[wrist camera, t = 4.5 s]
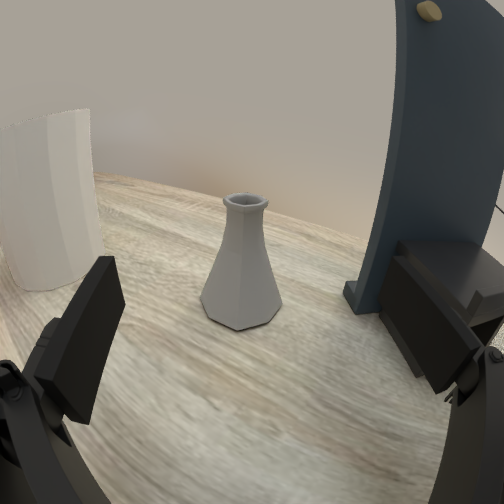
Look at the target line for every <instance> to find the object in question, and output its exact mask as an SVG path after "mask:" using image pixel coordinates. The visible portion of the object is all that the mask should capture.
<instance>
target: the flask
mask: <svg viewBox="0 0 504 504" xmlns="http://www.w3.org/2000/svg"><path fill="white" fill-rule="evenodd" d="M223 204H224V205H225V206H226V208H227V218H226V227H225V231H224V236H223V240H222V244H221V247H220V249H219V252H218V254H217V257H216V259H215V262H214V264H213V267H212V270H211V272H210V274H209V276H208V279H207V281H206V283H205V286H204V288H203V290H202V293H201V295H200V299H201V301H202V304H203V306H204V308H205V310H206V312H207V315H208V317H209V318H211V319H213V320H215V321H218V322H220V323H222V324H224V325H226V326H228V327H231V328H233V329H235V330H237V331H238V330H242V329H245V328H249V327H253V326H256V325H260V324H264V323H267V322H269V321H270V320H271V318H272V317H273V316H274V314H275V313H276V312H277V310H278V309H279V308H280V306H281V305H282V300H281V297H280V294H279V291H278V288H277V284H276V281H275V278H274V275H273V272H272V269H271V265H270V262H269V258H268V255H267V251H266V248H265V242H264V234H263V211H264V209H265V208H266V207H267V206H268V200H267V199H265V198H264V197H262V196H260V195H256V194H251V193H235V194H231V195H228V196H226V197H224V198H223Z"/></svg>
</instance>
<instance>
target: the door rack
mask: <svg viewBox="0 0 504 504" xmlns="http://www.w3.org/2000/svg"><path fill="white" fill-rule="evenodd" d="M395 7H396V75H395V91H394V103H393V113H392V123H391V130H390V138H389V145H388V152H387V158H386V164H385V170H384V175H383V181H382V186H381V191H380V196H379V200H378V205H377V209H376V214H375V218H374V222H373V227H372V231H371V235H370V239H369V242H368V246H367V250H366V253H365V257H364V261H363V264H362V268H361V271H360V274H359V278H358V281H346V283H345V287H344V290H343V294H344V296H345V297H346V299H347V301H348V303H349V304H350V306H351V308H352V310H353V311H354V313H355V314H364V313H373V312H380V314H379V317H380V318H381V320H382V321H383V323H384V324H385V326H386V328H387V329H388V331H389V333H390V334H391V336H392V337H393V339H394V341H395V342H396V344H397V346H398V347H399V349H400V351H401V353H402V354H403V356H404V358H405V359H406V361H407V363H408V365H409V366H410V368H411V370H412V372H413V373H414V375H415V377H416V378H417V377H420V376H423V375H424V373H423V371H422V370H421V368H420V366H419V365H418V363H417V361H416V360H415V358H414V356H413V355H412V353H411V351H410V350H409V348H408V347H407V345H406V343H405V342H404V340H403V339H402V337H401V335H400V334H399V332H398V331H397V329H396V328H395V326H394V324H393V323H392V321H391V320H390V318H389V317H388V315H387V314H386V312H385V311H384V309H383V308H382V306H381V305H380V303H379V302H378V301H377V297H378V294H379V292H380V289H381V286H382V284H383V281H384V278H385V275H386V272H387V269H388V267H389V264H390V261H391V257H392V256H404V257H405V258H406V259H407V260H408V261H409V262H410V263H411V264H412V265H413V266H414V267H415V268H416V269H417V271H418V272H419V273H420V274H421V275H422V276H423V277H424V278H425V279H426V280H427V281H428V282H429V283H430V284H431V285H432V287H433V288H434V289H435V290H436V291H437V292H438V293H439V294H440V296H441V297H442V298H443V299H444V300H445V301H446V302H447V304H448V305H449V306H450V307H451V308H453V309H454V310H455V311H457V313H458V314H459V315H460V316H461V317H462V320H464V321H465V322H466V323H467V326H469V327H470V328H471V330H472V331H473V332H474V333H475V335H476V336H477V337H478V339H479V340H480V341H481V343H482V344H483V345H484V346H485V348H486V347H488V346H489V345H490V343H491V342H492V340H493V339H494V337H495V336H496V334H497V333H498V331H499V329H500V328H501V326H502V325H503V323H504V266H503V265H501V264H500V263H499V262H498V261H497V260H496V259H495V258H493V257H492V256H491V255H490V254H489V253H487V252H486V251H485V250H484V249H482V248H481V247H482V244H483V242H484V239H485V236H486V233H487V230H488V227H489V224H490V221H491V218H492V214H493V211H494V207H495V204H496V200H497V196H498V192H499V188H500V184H501V179H502V175H503V170H504V17H503V16H502V15H501V14H500V13H499V12H498V11H497V10H496V9H495V8H493V7H492V6H491V5H490V4H489V3H488V2H487V1H485V0H395Z"/></svg>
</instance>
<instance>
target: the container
mask: <svg viewBox="0 0 504 504" xmlns="http://www.w3.org/2000/svg"><path fill="white" fill-rule="evenodd" d="M0 243H1V246H2V249H3V252H4V255H5V258H6V261H7V264H8V267H9V269H10V272H11V275H12V277H13V280H14V282H15V284H16V285H18V286H19V287H21V288H23V289H24V290H26V291H50V290H53V289H56V288H59V287H61V286H64V285H67V284H70V283H73V282H75V281H77V280H78V279H80V278H81V277H83V276H84V275H85V274H87V273H88V272H89V271H90V269H91V267H92V266H93V264H94V263H95V261H96V260H97V258H98V257H99V256H104V254H105V253H106V251H105V246H104V241H103V236H102V231H101V226H100V220H99V214H98V207H97V200H96V193H95V185H94V176H93V166H92V154H91V139H90V109H79V110H71V111H66V112H60V113H55V114H50V115H45V116H41V117H38V118H34V119H30V120H26V121H23V122H20V123H16V124H13V125H10V126H8V127H5V128H2V129H0Z"/></svg>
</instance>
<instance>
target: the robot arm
mask: <svg viewBox="0 0 504 504" xmlns="http://www.w3.org/2000/svg"><path fill="white" fill-rule="evenodd" d="M495 206H496V207H497V208H498V209H499V210H500V211H501V212H502V213H503V214H504V212H503V211H502V210H501V209H500V208H499V207H498V206H497V205H496V204H495ZM377 301H378V302H379V303H380V305H381V306H382V308H383V309H384V311H385V312H386V314H387V315H388V317H389V318H390V320H391V321H392V323H393V324H394V326H395V328H396V329H397V331H398V332H399V334H400V335H401V337H402V339H403V340H404V342H405V343H406V345H407V347H408V348H409V350H410V351H411V353H412V355H413V356H414V358H415V360H416V361H417V363H418V365H419V366H420V368H421V370H422V371H423V373H424V375H425V377H426V378H427V380H428V382H429V384H430V385H431V387H432V389H433V391H434V393H435V394H438V393H441V392H443V391H445V390H447V389H448V388H449V387H450V386H451V385H452V383H453V382H454V381H455V382H456V384H457V386H456V387H455V388H454V389H453V390H452V391H451V392H450V393H449V395H448V396H447V397H446V398H445V401H444V402H447V401H448V399H449V398H450V397H451V396H453V398H452V399H451V400H450V401H449V403H450V404H452V406H451V414H450V420H449V426H448V432H447V437H446V442H445V447H444V451H443V455H442V460H441V463H440V467H439V471H438V474H437V478H436V481H435V484H434V487H433V490H432V493H431V496H430V499H429V502H428V504H504V355H503V354H502V353H501V352H500V351H499V350H498V349H497V348H495V347H493V346H488V347H486V348H485V346H484V345H483V344H482V343H481V341H480V340H479V339H478V337H477V336H476V335H475V333H474V332H473V331H472V330H471V328H470V327H469V326H467V323H466V322H465V321H464V320H462V317H461V316H460V315H459V314H458V313H457V311H455V310H454V309H453V308H451V307H450V306H449V305H448V304H447V302H446V301H445V300H444V299H443V298H442V297H441V296H440V294H439V293H438V292H437V291H436V290H435V289H434V288H433V287H432V285H431V284H430V283H429V282H428V281H427V280H426V279H425V278H424V277H423V276H422V275H421V274H420V273H419V272H418V271H417V269H416V268H415V267H414V266H413V265H412V264H411V263H410V262H409V261H408V260H407V259H406V258H405V257H404V256H392V257H391V261H390V264H389V267H388V269H387V272H386V275H385V278H384V281H383V284H382V286H381V289H380V292H379V294H378V297H377ZM125 305H126V304H125V301H124V297H123V293H122V289H121V285H120V281H119V277H118V272H117V268H116V263H115V258H114V256H99V257H98V258H97V260H96V261H95V263H94V264H93V266H92V267H91V269H90V271H89V272H88V274H87V275H86V277H85V278H84V280H83V282H82V283H81V285H80V286H79V288H78V290H77V291H76V293H75V295H74V296H73V298H72V300H71V301H70V303H69V305H68V307H67V308H66V310H65V312H64V314H63V315H62V317H61V318H55V317H54V318H53V319H52V320H51V321H50V322H49V323H48V324H47V325H46V326H45V328H44V329H43V331H42V333H41V335H40V338H39V339H38V341H37V343H36V346H34V348H33V350H32V352H31V354H30V356H29V358H28V360H27V363H26V365H25V367H24V369H23V371H22V373H21V372H20V370H19V369H18V368H17V366H16V365H15V364H14V363H13V362H12V361H11V360H1V361H0V504H111V502H110V501H109V499H108V498H107V497H106V495H105V494H104V492H103V491H102V489H101V488H100V486H99V485H98V483H97V482H96V480H95V479H94V477H93V476H92V474H91V472H90V471H89V469H88V467H87V466H86V464H85V462H84V460H83V459H82V457H81V455H80V453H79V451H78V450H77V448H76V446H75V444H74V442H73V440H72V438H71V436H70V434H69V432H68V430H67V428H66V425H65V424H64V422H63V421H62V419H63V415H64V414H65V415H66V416H67V417H68V418H69V419H70V420H71V421H74V422H77V423H81V424H86V425H89V423H90V419H91V414H92V410H93V406H94V402H95V398H96V395H97V391H98V387H99V384H100V380H101V377H102V373H103V370H104V366H105V363H106V360H107V357H108V354H109V350H110V347H111V344H112V341H113V338H114V335H115V333H116V330H117V327H118V324H119V321H120V318H121V316H122V313H123V310H124V308H125Z"/></svg>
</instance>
